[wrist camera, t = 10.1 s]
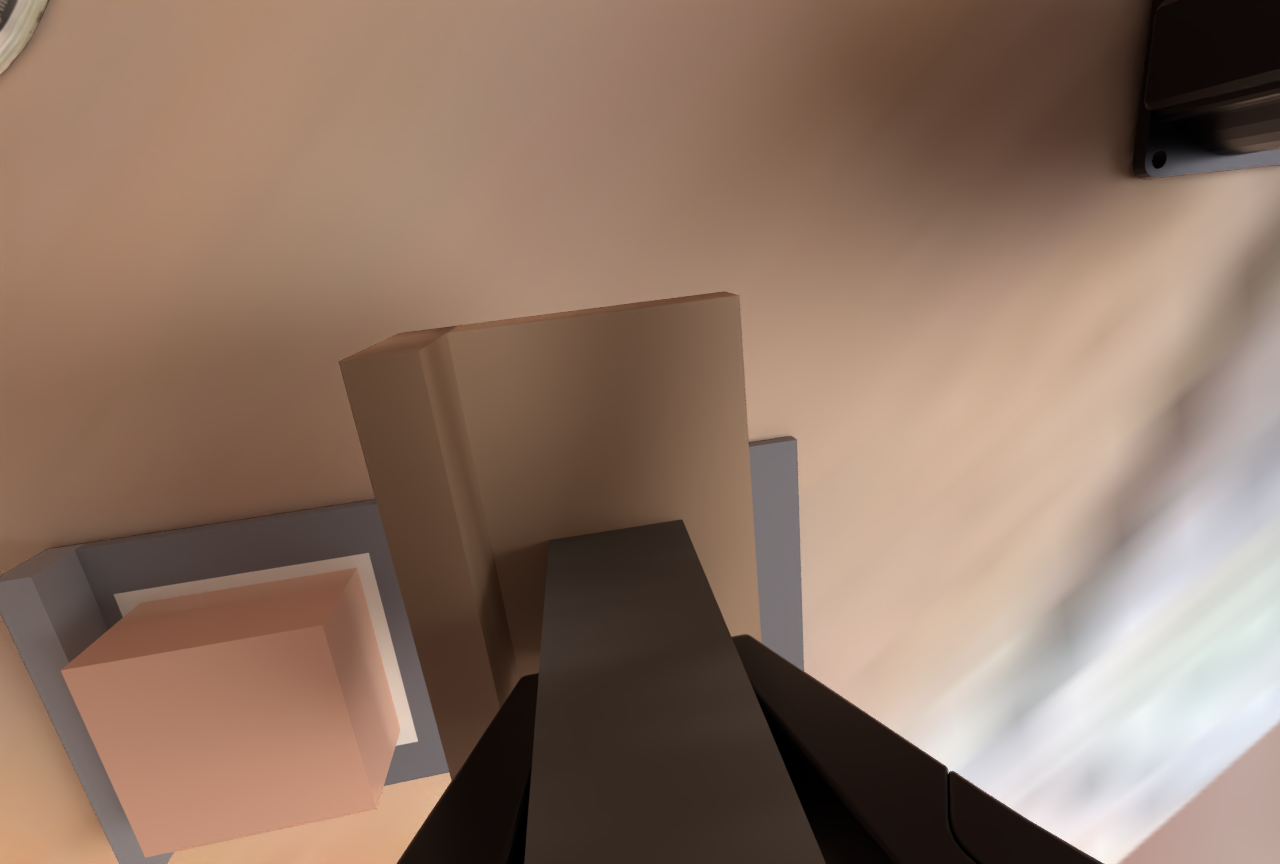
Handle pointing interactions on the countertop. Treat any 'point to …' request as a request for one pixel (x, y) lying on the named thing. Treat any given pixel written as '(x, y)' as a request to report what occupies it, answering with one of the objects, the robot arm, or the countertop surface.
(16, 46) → the coffee can
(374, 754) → the tile
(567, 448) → the beige ledged slab
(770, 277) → the countertop surface
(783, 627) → the gray ledged slab
